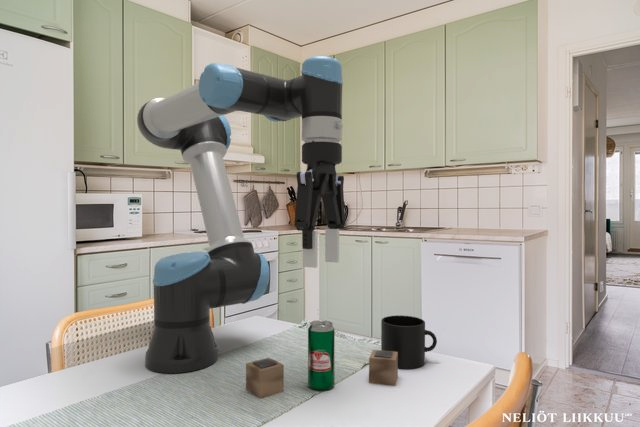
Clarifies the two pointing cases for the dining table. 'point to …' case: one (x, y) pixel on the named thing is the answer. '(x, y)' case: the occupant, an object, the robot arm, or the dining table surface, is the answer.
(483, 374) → the dining table surface
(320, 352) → the soda can
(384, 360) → the walnut block
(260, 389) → the walnut block
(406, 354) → the mug
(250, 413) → the dining table surface
